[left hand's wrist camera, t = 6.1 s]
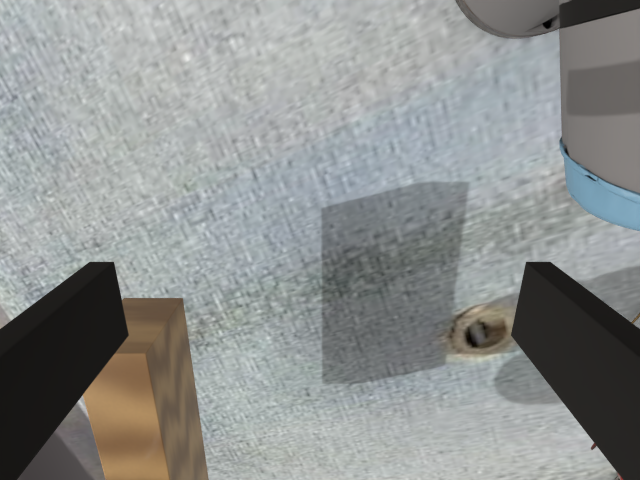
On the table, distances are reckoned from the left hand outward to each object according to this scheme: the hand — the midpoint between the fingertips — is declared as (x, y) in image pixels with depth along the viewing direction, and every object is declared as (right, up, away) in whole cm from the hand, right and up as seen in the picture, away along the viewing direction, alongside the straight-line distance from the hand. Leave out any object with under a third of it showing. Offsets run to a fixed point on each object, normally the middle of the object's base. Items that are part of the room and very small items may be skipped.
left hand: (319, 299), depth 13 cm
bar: (-15, -15, +27) cm, 34 cm away
